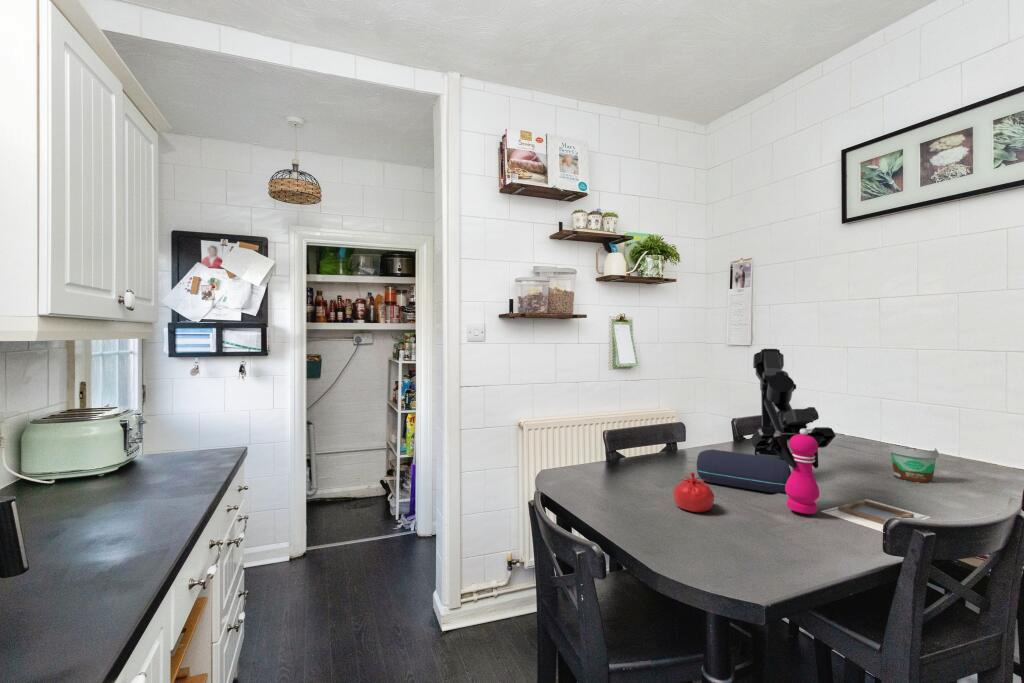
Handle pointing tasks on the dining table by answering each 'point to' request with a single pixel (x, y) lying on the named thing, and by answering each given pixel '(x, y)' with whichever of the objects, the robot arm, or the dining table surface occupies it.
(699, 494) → the pomegranate
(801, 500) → the pepper mill
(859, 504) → the walnut socket
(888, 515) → the picture frame
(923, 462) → the food container
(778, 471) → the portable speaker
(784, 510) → the dining table surface
